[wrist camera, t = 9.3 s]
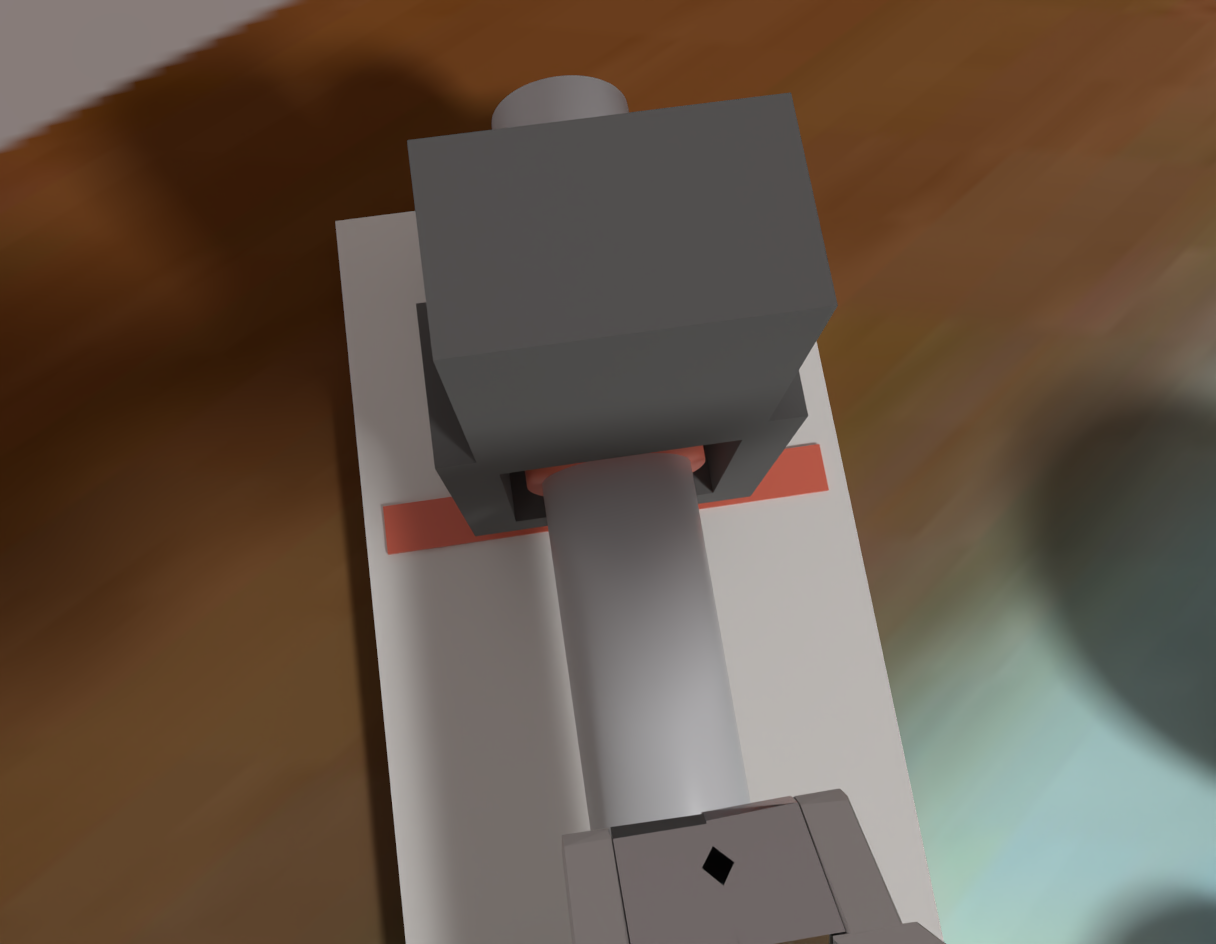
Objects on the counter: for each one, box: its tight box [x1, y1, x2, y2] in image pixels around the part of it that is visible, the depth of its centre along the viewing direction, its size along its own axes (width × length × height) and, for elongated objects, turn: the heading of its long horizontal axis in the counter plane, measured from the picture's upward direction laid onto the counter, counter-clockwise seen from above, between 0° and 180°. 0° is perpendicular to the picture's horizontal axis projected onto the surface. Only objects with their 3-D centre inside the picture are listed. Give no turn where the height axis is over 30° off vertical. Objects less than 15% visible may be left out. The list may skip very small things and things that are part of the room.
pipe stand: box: [335, 76, 944, 944], centre depth 22 cm, size 27×12×8 cm, turn 9°
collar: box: [407, 93, 838, 536], centre depth 18 cm, size 3×6×11 cm, turn 99°
